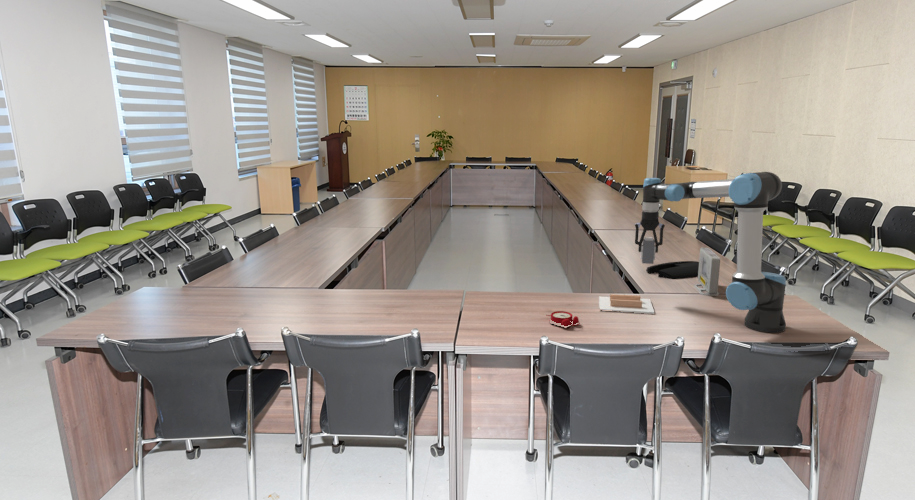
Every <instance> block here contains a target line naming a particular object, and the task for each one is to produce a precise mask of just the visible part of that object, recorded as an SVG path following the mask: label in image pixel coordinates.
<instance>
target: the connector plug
mask: <svg viewBox="0 0 915 500" xmlns="http://www.w3.org/2000/svg"><path fill="white" fill-rule="evenodd" d="M642 245H643V257H642V259H641V264H647V265H648V264H651V265H653V264H654V261H655V260H654V246H655V240H654V236H652V237H651V236H648V237H647V236H644V239H643V242H642Z"/></svg>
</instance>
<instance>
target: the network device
mask: <svg viewBox="0 0 915 500" xmlns="http://www.w3.org/2000/svg"><path fill="white" fill-rule="evenodd" d="M698 259H699V260H698V262H699V269H698V277H697V281H698V283H695V284H694V285H693V287H694V288H695V289H696V290H697V292H698V293H699V294H700V295H702V296H709V297H710V296H713V297H714V296H715V297H716V296H719V295H720V293H719V292H718V291H719V290H718V289H719V279H720V268H721V257H720V256H718V255H717V254H716V253H715V252H714V251H712V249H710V248H709V247H700V249H699V258H698ZM698 286H699V287H698ZM704 292H705V293H704ZM706 292H707V293H706Z"/></svg>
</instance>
